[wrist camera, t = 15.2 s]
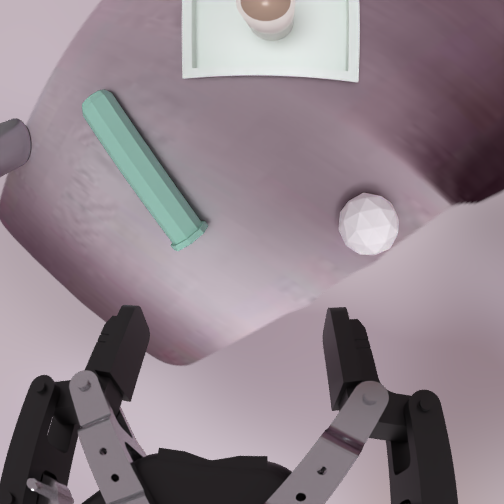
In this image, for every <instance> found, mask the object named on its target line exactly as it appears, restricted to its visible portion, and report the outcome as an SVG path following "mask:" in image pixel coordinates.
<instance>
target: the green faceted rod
mask: <svg viewBox="0 0 504 504" xmlns="http://www.w3.org/2000/svg"><path fill="white" fill-rule="evenodd" d="M82 111H83V117H84V118H85V120H86V121H87V123H88V124H89V126H90V127H91V129H92V130H93V132H94V133H95V135H96V136H97V138H98V139H99V141H100V142H101V144H102V145H103V147H104V148H105V150H106V151H107V153H108V154H109V156H110V157H111V159H112V160H113V161H114V163H115V164H116V166H117V167H118V169H119V170H120V172H121V173H122V174H123V176H124V177H125V179H126V180H127V182H128V183H129V184H130V186H131V187H132V189H133V190H134V191H135V193H136V194H137V196H138V197H139V198H140V200H141V201H142V202H143V204H144V205H145V207H146V208H147V209H148V211H149V212H150V213H151V215H152V216H153V217H154V219H155V220H156V221H157V223H158V224H159V225H160V227H161V228H162V229H163V231H164V232H165V233H166V235H167V236H168V237H169V239H170V240H171V241H172V244H171V247H172V248H173V249H174V250H176V251H180V250H181V249H183V248H185V247H187V246H189V245H190V244H192V243H193V242H194V241H195V240H196V239H198V238H199V237H200V236H201V235H202V234H204V232H205V230H206V229H207V227H208V225H207V224H206V222H205V221H200V220H199V218H198V217H197V215H196V214H195V213H194V211H193V210H192V208H191V207H190V206H189V204H188V203H187V201H186V200H185V199H184V197H183V196H182V194H181V193H180V192H179V190H178V189H177V187H176V186H175V184H174V183H173V182H172V180H171V179H170V177H169V176H168V174H167V173H166V172H165V170H164V169H163V167H162V166H161V164H160V163H159V162H158V160H157V159H156V157H155V156H154V154H153V153H152V152H151V150H150V149H149V147H148V146H147V144H146V143H145V141H144V140H143V139H142V137H141V136H140V134H139V133H138V131H137V130H136V128H135V127H134V125H133V124H132V122H131V121H130V120H129V118H128V117H127V115H126V114H125V112H124V111H123V109H122V108H121V106H120V105H119V103H118V102H117V100H116V99H115V97H114V96H113V94H112V93H111V92H109V91H107V90H99V91H97V92H95V93H94V94H92V95H91V96H89V97H88V98H87V99H86V100H85V101H84V102H83V104H82Z"/></svg>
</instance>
